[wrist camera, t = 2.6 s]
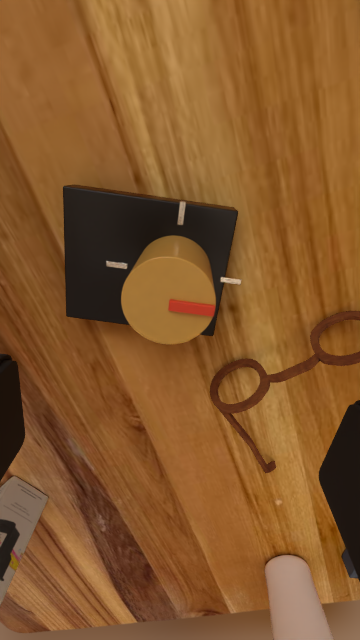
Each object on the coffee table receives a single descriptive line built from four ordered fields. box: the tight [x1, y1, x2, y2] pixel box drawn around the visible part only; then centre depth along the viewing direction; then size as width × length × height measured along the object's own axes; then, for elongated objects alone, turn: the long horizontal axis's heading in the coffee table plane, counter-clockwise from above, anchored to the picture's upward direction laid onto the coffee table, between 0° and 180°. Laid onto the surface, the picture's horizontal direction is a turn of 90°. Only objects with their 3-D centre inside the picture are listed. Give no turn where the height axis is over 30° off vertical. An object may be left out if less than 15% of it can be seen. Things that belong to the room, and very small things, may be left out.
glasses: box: [210, 311, 360, 473], centre depth 26 cm, size 13×13×5 cm
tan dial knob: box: [121, 236, 216, 344], centre depth 19 cm, size 5×5×6 cm
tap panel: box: [63, 185, 241, 336], centre depth 23 cm, size 12×9×2 cm
